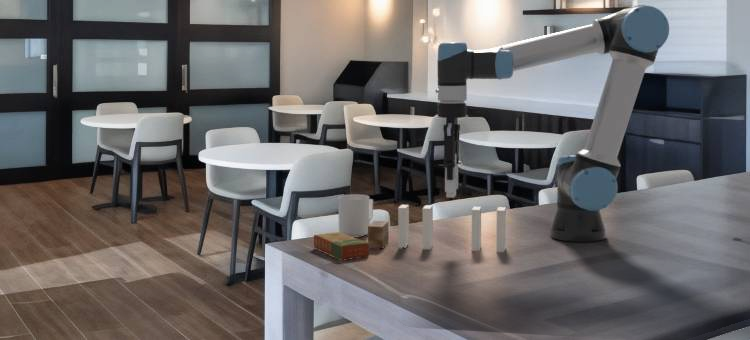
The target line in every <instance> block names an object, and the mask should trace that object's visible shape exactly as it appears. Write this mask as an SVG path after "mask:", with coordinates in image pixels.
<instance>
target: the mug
mask: <svg viewBox="0 0 750 340" xmlns="http://www.w3.org/2000/svg"><path fill="white" fill-rule="evenodd" d="M337 200H338V201H337V202H338V204H337V205H338V208H337V209H338V232H340V233H343V234H346V235H349V236H361V235H366V234H367V235H368V226H369V225H370V224H371V223H370V222H371V220H372V219H373V216H374V199H372V198H370V196H369V195H367V194H358V193H357V194H356V193H355V194H343V195H340V196H338V198H337ZM367 235H366V236H367Z"/></svg>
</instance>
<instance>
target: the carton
mask: <svg viewBox="0 0 750 340" xmlns="http://www.w3.org/2000/svg"><path fill="white" fill-rule="evenodd" d="M314 247H315V248H317V249H319V250H321V251H323V252H326V253H328V254H330V255H332V256H334V257H336V258H338V259H341V260H340V261H342V260H343V261H345V260H344V259H350V258H356V259H358V258H357V257H363V258H366V257H365V256H369V257H370V253H369V252H370V248H369V244H368V241H364V240H362V239H359V238H357V237H356V238H354V237H351V236H349V235H346V234H343V233H340V232H339V231H338V232H328V233H320V234H314V235H313V248H314ZM332 256H331V257H332ZM334 257H333V258H334ZM336 258H335V259H336ZM338 259H337V260H338ZM350 260H351V259H350Z"/></svg>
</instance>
